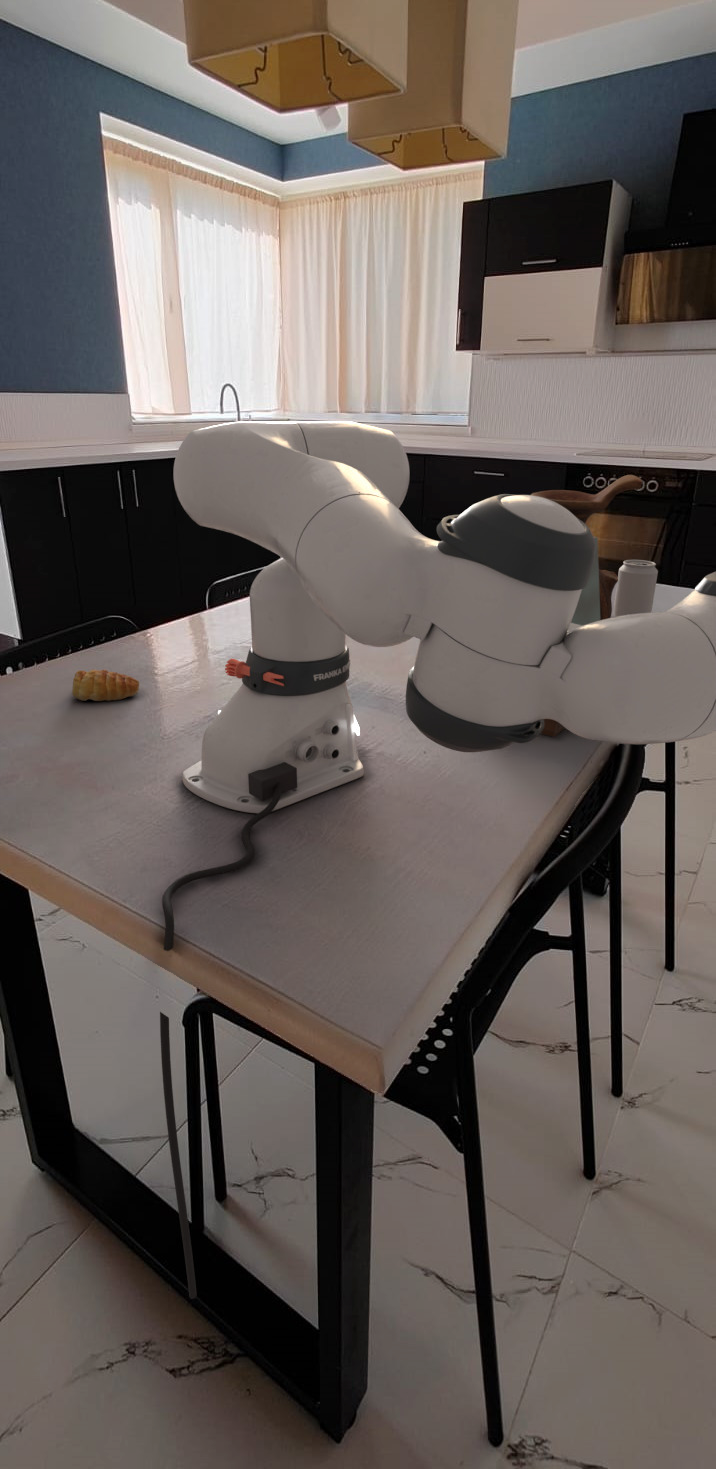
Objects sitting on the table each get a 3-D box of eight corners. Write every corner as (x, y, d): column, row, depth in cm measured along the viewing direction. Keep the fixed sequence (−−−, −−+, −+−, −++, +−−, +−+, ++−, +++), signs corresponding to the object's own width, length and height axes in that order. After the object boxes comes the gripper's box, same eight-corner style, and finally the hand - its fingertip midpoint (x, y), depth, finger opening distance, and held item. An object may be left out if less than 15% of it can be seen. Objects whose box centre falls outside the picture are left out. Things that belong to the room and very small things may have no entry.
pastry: (143, 686, 119) (140, 663, 118) (135, 702, 113) (132, 678, 112) (81, 688, 119) (78, 664, 117) (70, 704, 113) (66, 679, 111)
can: (653, 618, 160) (663, 560, 156) (644, 626, 155) (654, 566, 150) (617, 613, 164) (625, 556, 159) (607, 621, 158) (615, 562, 154)
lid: (552, 549, 95) (558, 549, 94) (591, 537, 104) (597, 536, 104) (558, 671, 99) (564, 671, 99) (596, 649, 109) (601, 649, 108)
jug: (562, 669, 129) (585, 482, 117) (465, 641, 144) (477, 472, 132) (632, 646, 142) (658, 475, 130) (536, 622, 157) (552, 467, 145)
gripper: (721, 695, 84) (599, 670, 92) (762, 652, 99) (654, 633, 107) (733, 640, 82) (606, 618, 89) (773, 604, 97) (662, 588, 104)
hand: (633, 626), depth 98 cm, fingers closed
